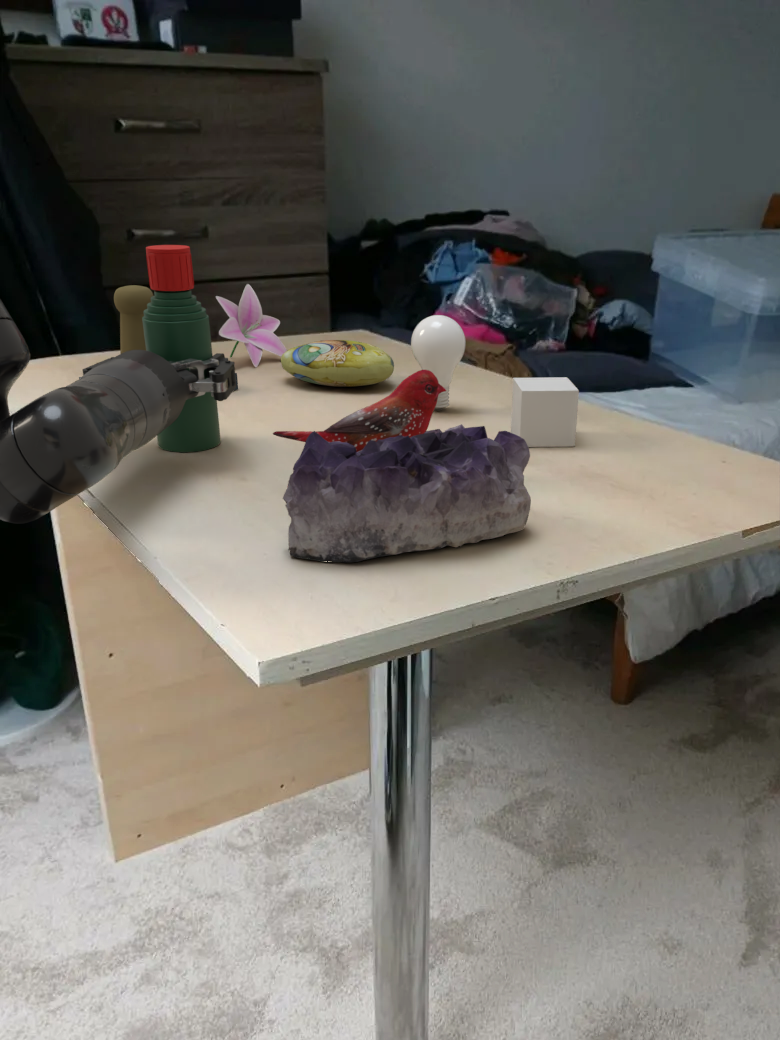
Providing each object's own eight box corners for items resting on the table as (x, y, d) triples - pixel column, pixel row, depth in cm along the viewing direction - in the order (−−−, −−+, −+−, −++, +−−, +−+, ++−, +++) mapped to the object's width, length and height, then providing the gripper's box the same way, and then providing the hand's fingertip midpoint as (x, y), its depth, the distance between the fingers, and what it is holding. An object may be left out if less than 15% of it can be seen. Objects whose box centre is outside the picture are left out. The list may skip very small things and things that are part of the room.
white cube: (563, 430, 105) (567, 377, 103) (574, 446, 100) (579, 390, 97) (510, 431, 105) (512, 377, 102) (519, 447, 100) (522, 390, 97)
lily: (208, 378, 130) (232, 318, 125) (186, 331, 137) (208, 272, 132) (285, 394, 138) (311, 338, 133) (260, 348, 144) (284, 294, 139)
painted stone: (376, 379, 116) (271, 325, 117) (362, 429, 121) (263, 377, 123) (413, 345, 123) (315, 295, 125) (399, 393, 129) (305, 345, 130)
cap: (170, 292, 90) (165, 250, 88) (141, 288, 92) (136, 247, 90) (203, 287, 93) (199, 246, 91) (174, 284, 95) (170, 243, 93)
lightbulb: (472, 406, 114) (474, 313, 109) (450, 419, 109) (452, 321, 104) (425, 400, 117) (425, 309, 112) (402, 412, 111) (401, 317, 106)
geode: (322, 591, 67) (302, 453, 64) (271, 554, 77) (252, 433, 74) (557, 532, 76) (551, 408, 73) (484, 506, 86) (476, 395, 82)
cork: (161, 363, 134) (151, 282, 129) (169, 371, 129) (159, 288, 124) (117, 366, 131) (105, 284, 127) (124, 375, 127) (112, 290, 122)
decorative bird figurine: (453, 473, 92) (454, 369, 87) (283, 505, 83) (276, 392, 79) (437, 465, 94) (438, 364, 89) (271, 495, 85) (262, 385, 81)
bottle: (186, 456, 95) (164, 257, 87) (145, 445, 98) (119, 252, 90) (233, 441, 100) (216, 252, 92) (192, 431, 103) (172, 247, 95)
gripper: (202, 361, 81) (253, 327, 96) (40, 356, 82) (116, 323, 97) (210, 446, 84) (259, 400, 99) (54, 440, 85) (126, 395, 100)
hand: (188, 362), depth 98 cm, fingers closed on bottle, 6 cm apart
